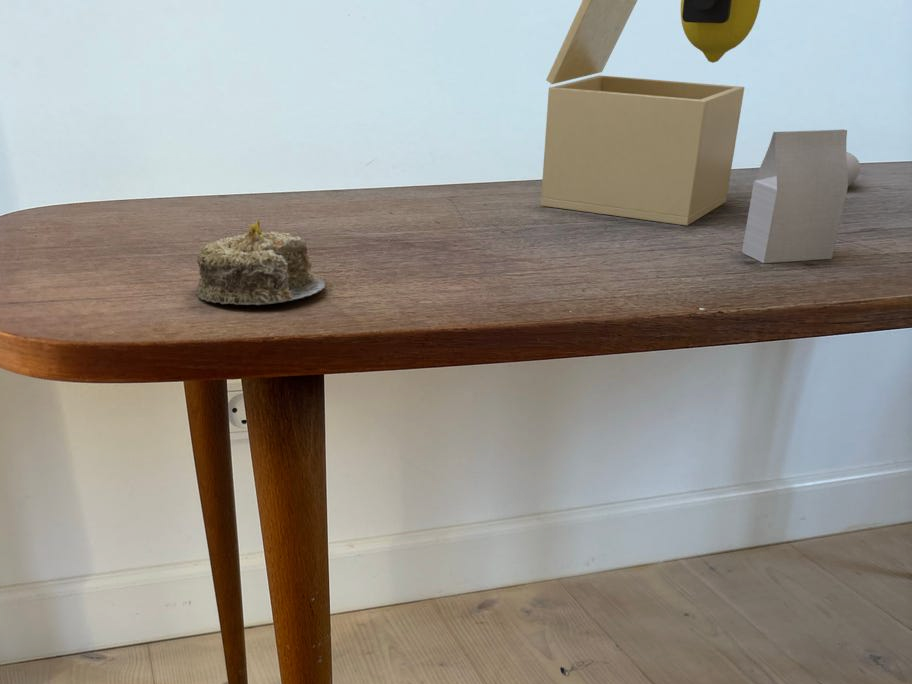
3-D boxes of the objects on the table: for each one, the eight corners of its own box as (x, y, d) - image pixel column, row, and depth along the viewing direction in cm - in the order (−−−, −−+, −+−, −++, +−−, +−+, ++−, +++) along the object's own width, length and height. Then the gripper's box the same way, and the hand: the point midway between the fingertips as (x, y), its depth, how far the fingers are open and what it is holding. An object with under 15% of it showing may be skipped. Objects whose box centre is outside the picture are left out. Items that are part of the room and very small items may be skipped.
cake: (183, 317, 78) (168, 241, 75) (213, 281, 86) (200, 211, 83) (316, 309, 77) (306, 232, 74) (333, 274, 85) (325, 203, 82)
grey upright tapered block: (831, 258, 92) (859, 133, 86) (763, 263, 90) (787, 136, 85) (808, 248, 95) (833, 126, 89) (741, 252, 93) (763, 128, 88)
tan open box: (726, 202, 110) (744, 86, 104) (687, 225, 101) (705, 101, 95) (588, 184, 117) (598, 75, 111) (540, 205, 108) (548, 87, 102)
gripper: (786, -350, 58) (735, 30, 68) (851, -302, 70) (800, 13, 80) (655, -334, 61) (626, 26, 71) (740, -292, 73) (704, 10, 83)
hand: (719, 16), depth 76 cm, fingers closed on lemon, 5 cm apart
